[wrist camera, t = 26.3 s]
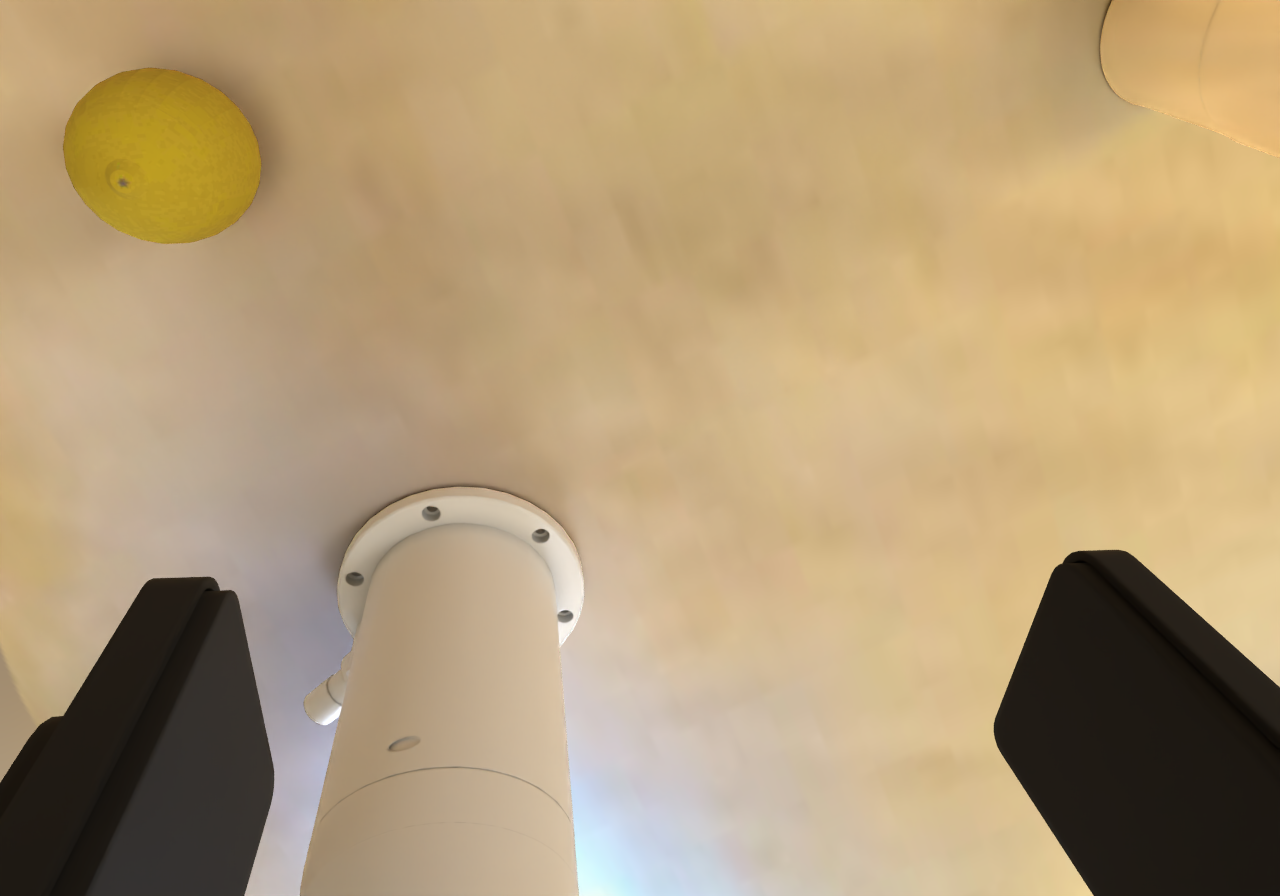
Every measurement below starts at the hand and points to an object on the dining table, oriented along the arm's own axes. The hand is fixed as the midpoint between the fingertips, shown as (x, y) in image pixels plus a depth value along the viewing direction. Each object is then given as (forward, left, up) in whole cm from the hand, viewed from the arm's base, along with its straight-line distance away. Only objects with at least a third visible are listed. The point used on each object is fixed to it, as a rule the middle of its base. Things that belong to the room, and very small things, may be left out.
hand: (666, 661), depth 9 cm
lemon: (-9, +10, -28) cm, 31 cm away
